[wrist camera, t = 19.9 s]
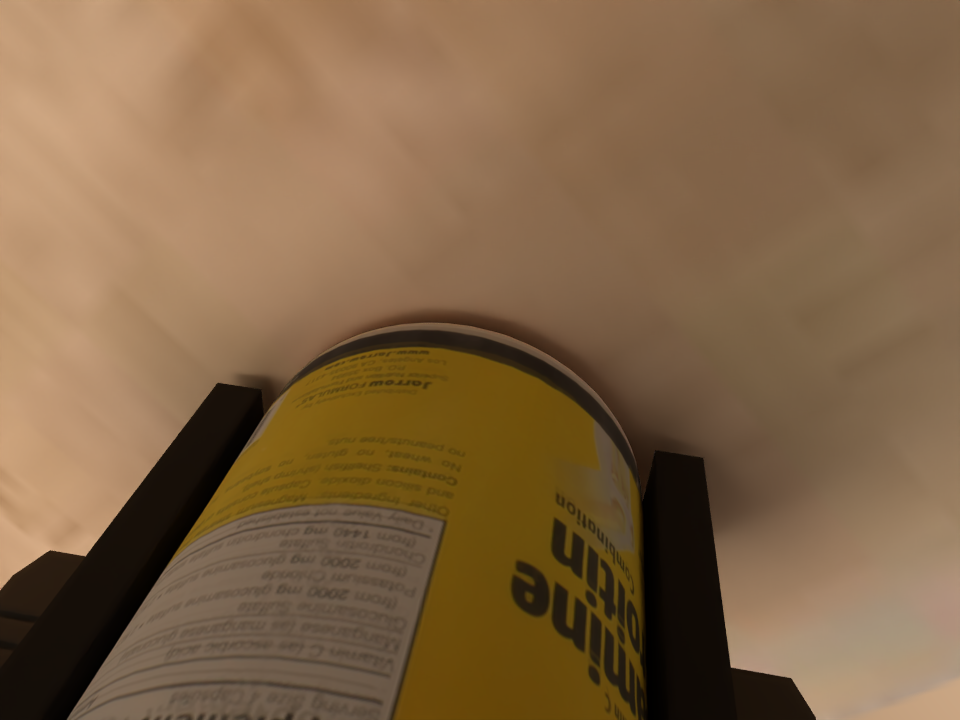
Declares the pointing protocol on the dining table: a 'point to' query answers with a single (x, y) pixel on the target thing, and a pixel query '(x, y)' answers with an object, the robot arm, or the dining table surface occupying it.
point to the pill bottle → (405, 551)
